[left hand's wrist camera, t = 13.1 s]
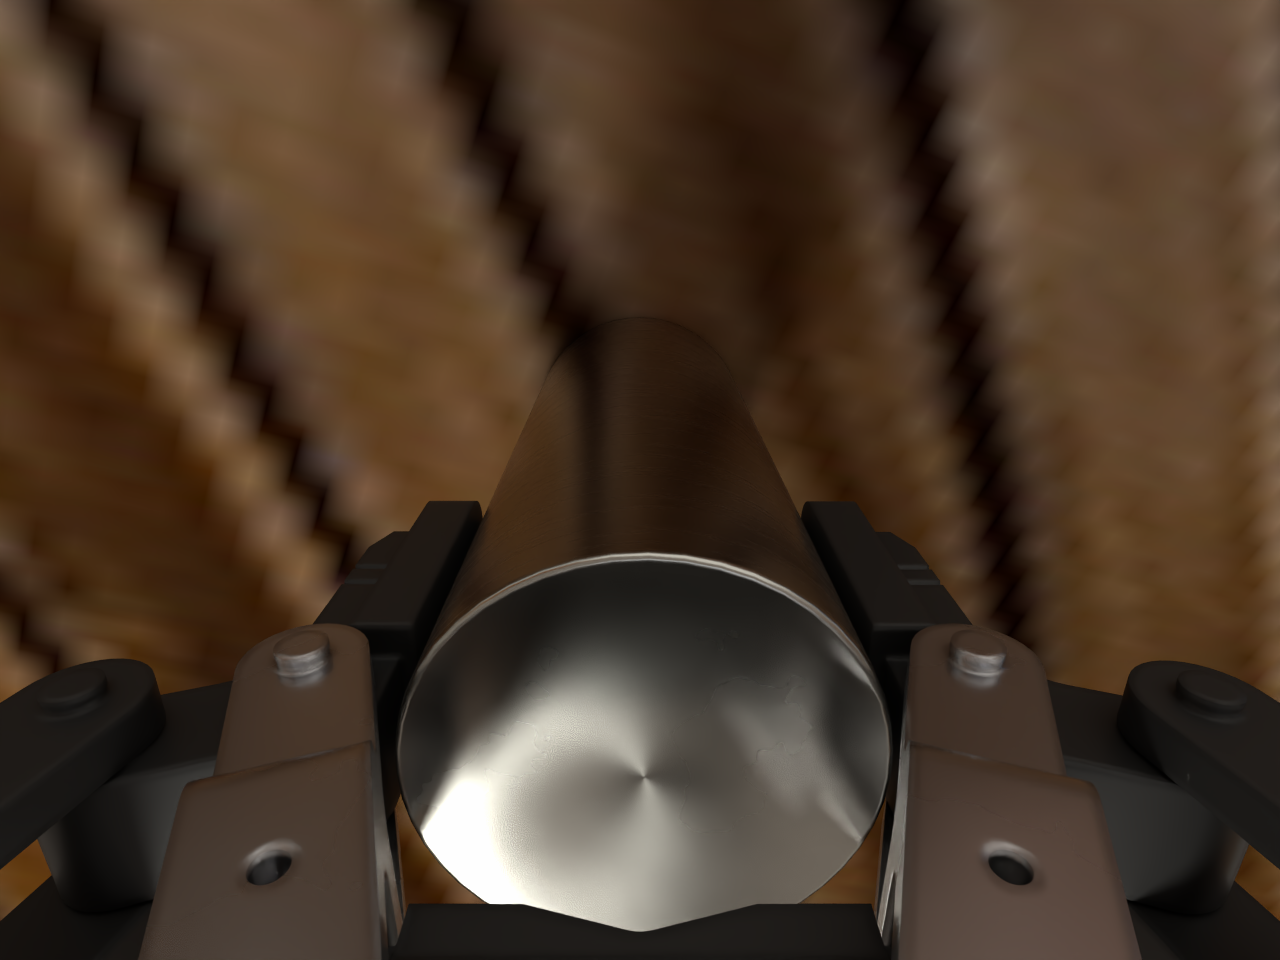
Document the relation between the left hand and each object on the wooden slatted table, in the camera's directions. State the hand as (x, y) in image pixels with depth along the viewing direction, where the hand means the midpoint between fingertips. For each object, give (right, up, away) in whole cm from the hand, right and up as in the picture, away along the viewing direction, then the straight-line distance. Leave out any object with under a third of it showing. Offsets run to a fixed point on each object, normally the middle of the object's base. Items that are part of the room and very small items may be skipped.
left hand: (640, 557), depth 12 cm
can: (0, +3, +7) cm, 7 cm away
